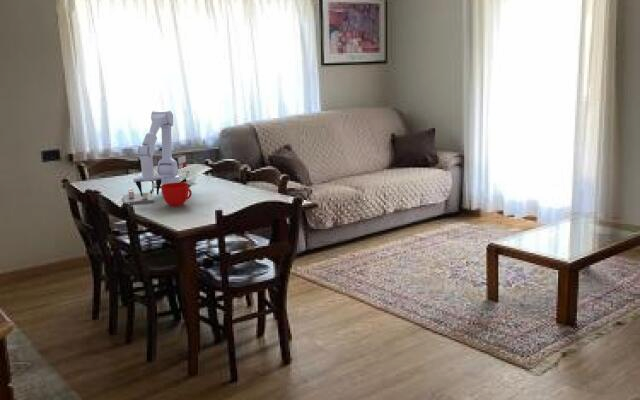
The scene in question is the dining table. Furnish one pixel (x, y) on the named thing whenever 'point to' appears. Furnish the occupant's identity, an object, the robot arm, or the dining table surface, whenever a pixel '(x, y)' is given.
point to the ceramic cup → (175, 193)
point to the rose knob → (131, 194)
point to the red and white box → (180, 161)
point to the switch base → (138, 199)
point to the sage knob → (144, 195)
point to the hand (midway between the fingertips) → (149, 195)
